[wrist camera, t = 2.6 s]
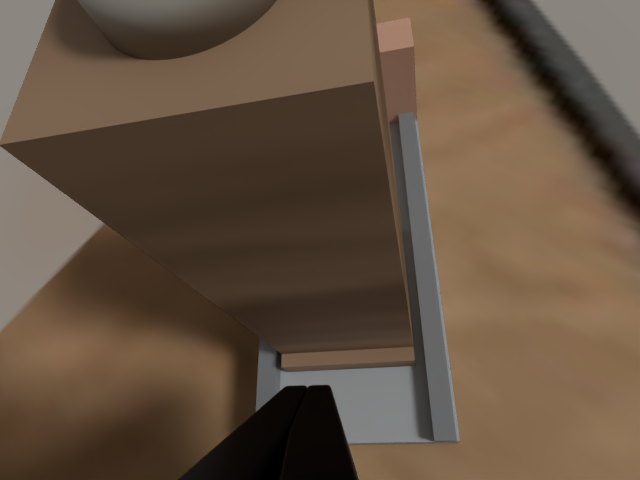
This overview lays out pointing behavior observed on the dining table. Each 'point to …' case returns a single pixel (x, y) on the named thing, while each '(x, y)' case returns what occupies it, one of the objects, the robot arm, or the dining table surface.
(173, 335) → the dining table surface
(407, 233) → the rail
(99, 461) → the dining table surface
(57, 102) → the slider block with knob
